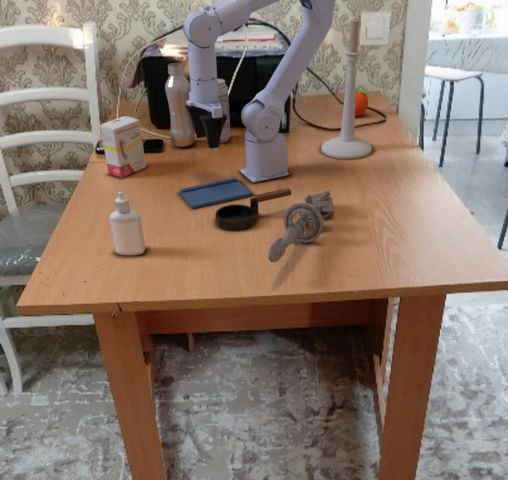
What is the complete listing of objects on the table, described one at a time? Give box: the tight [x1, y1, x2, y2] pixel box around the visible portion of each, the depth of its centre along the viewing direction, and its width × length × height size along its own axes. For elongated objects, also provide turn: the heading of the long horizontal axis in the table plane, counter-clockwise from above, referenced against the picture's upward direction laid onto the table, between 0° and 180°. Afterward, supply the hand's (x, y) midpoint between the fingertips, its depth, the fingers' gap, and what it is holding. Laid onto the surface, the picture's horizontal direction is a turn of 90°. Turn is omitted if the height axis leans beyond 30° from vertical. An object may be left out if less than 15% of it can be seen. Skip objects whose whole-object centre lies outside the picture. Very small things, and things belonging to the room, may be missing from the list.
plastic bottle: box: [164, 62, 196, 148], centre depth 152 cm, size 6×7×20 cm
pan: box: [214, 187, 292, 232], centre depth 122 cm, size 16×8×5 cm, turn 114°
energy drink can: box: [217, 78, 231, 144], centre depth 156 cm, size 6×6×15 cm
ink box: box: [100, 115, 147, 179], centre depth 142 cm, size 9×5×12 cm, turn 143°
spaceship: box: [267, 190, 334, 263], centre depth 112 cm, size 8×35×8 cm
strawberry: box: [355, 89, 373, 117], centre depth 171 cm, size 8×7×7 cm
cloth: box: [178, 177, 253, 209], centre depth 133 cm, size 14×9×1 cm, turn 114°
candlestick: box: [321, 17, 373, 160], centre depth 143 cm, size 13×13×30 cm
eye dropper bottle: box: [108, 191, 146, 256], centre depth 110 cm, size 4×6×12 cm
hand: (207, 142), depth 133 cm, fingers open, 7 cm apart
